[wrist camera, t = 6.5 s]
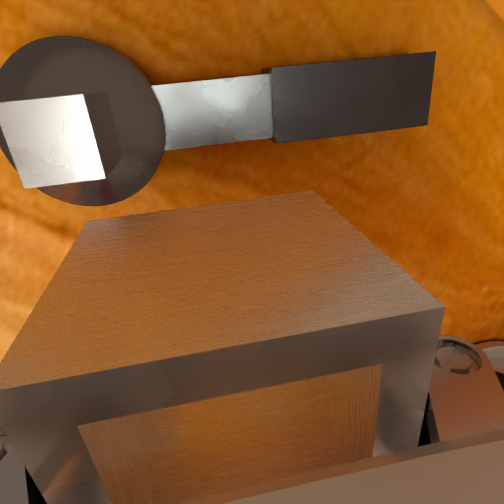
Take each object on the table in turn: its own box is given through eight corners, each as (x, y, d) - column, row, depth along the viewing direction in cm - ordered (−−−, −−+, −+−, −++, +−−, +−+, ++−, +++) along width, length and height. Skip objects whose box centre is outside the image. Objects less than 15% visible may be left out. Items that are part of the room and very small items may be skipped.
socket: (312, 190, 11) (445, 306, 5) (314, 355, 14) (399, 535, 8) (87, 221, 10) (-19, 393, 5) (139, 388, 13) (111, 612, 8)
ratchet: (412, 11, 23) (512, -18, 16) (399, 154, 27) (475, 181, 20) (-11, 48, 20) (-116, 32, 13) (44, 200, 24) (-15, 251, 17)
